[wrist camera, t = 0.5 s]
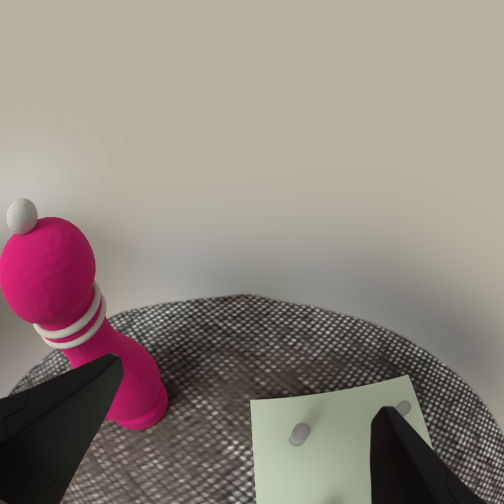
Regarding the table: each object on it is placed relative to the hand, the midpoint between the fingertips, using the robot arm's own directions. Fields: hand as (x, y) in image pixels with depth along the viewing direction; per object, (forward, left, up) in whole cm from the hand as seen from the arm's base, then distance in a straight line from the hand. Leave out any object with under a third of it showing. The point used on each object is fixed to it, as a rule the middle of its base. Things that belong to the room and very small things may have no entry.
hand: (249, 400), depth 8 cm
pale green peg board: (-2, -7, -15) cm, 17 cm away
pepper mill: (+6, +11, -15) cm, 19 cm away
